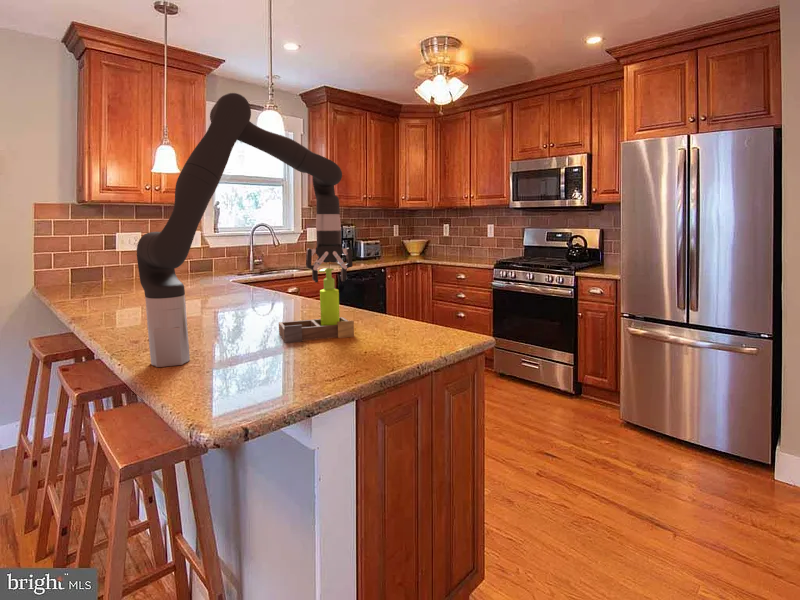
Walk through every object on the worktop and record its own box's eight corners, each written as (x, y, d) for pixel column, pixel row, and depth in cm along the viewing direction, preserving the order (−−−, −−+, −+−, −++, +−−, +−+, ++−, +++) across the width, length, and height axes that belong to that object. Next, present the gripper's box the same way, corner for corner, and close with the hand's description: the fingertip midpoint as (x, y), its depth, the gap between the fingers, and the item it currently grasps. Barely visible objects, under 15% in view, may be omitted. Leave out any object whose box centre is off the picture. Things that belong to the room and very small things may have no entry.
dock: (354, 336, 160) (353, 320, 159) (285, 343, 152) (284, 326, 152) (343, 328, 172) (343, 313, 171) (279, 334, 165) (278, 318, 164)
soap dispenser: (315, 332, 162) (313, 268, 159) (328, 328, 168) (326, 267, 165) (330, 334, 160) (328, 269, 156) (343, 330, 166) (341, 267, 163)
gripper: (307, 229, 153) (309, 284, 156) (354, 229, 158) (355, 282, 161) (303, 229, 160) (304, 281, 163) (347, 229, 165) (348, 279, 168)
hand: (329, 281), depth 162 cm, fingers open, 8 cm apart
